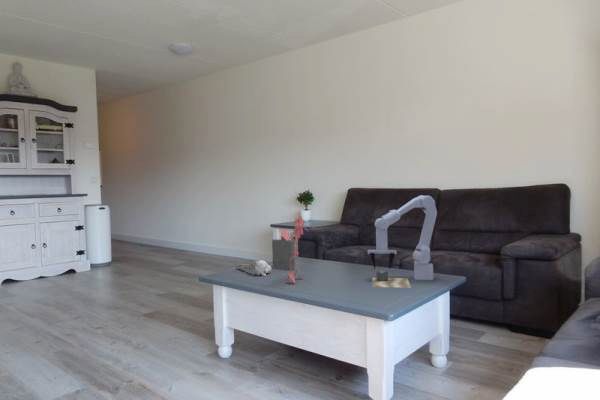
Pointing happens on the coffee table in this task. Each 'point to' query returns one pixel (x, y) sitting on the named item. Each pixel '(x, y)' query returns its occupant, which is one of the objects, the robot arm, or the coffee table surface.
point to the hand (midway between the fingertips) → (382, 268)
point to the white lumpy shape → (263, 268)
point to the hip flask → (283, 254)
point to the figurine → (297, 232)
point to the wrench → (249, 267)
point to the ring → (382, 276)
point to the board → (392, 283)
